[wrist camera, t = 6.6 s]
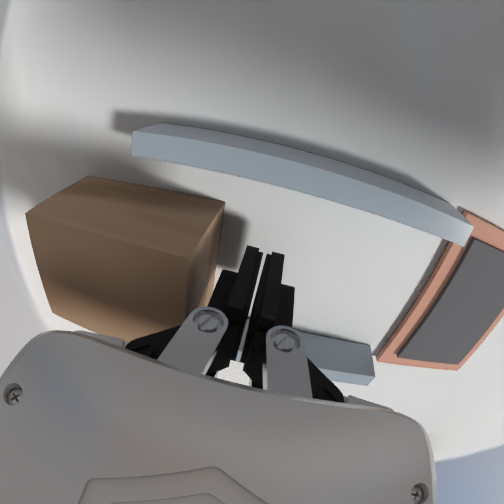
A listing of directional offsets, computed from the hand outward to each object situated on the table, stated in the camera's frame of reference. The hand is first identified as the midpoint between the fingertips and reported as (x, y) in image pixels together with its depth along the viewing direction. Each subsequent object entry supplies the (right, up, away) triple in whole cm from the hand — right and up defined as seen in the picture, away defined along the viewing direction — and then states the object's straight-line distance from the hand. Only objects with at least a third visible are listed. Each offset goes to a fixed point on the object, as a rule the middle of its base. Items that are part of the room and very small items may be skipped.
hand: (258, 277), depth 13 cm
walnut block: (-6, +2, +2) cm, 7 cm away
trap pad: (+13, -2, +1) cm, 13 cm away
